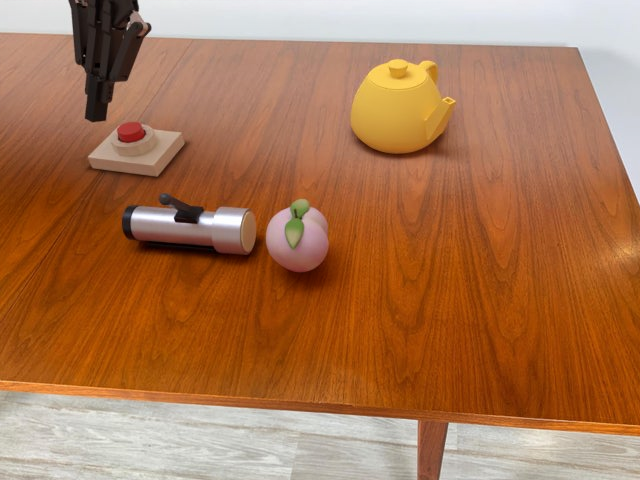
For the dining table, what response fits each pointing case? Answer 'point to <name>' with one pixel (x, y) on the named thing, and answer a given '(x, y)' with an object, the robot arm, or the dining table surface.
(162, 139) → the beige dock base
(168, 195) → the flashlight switch
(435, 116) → the teapot
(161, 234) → the flashlight
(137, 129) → the dock button
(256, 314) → the dining table surface
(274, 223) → the decorative fruit
